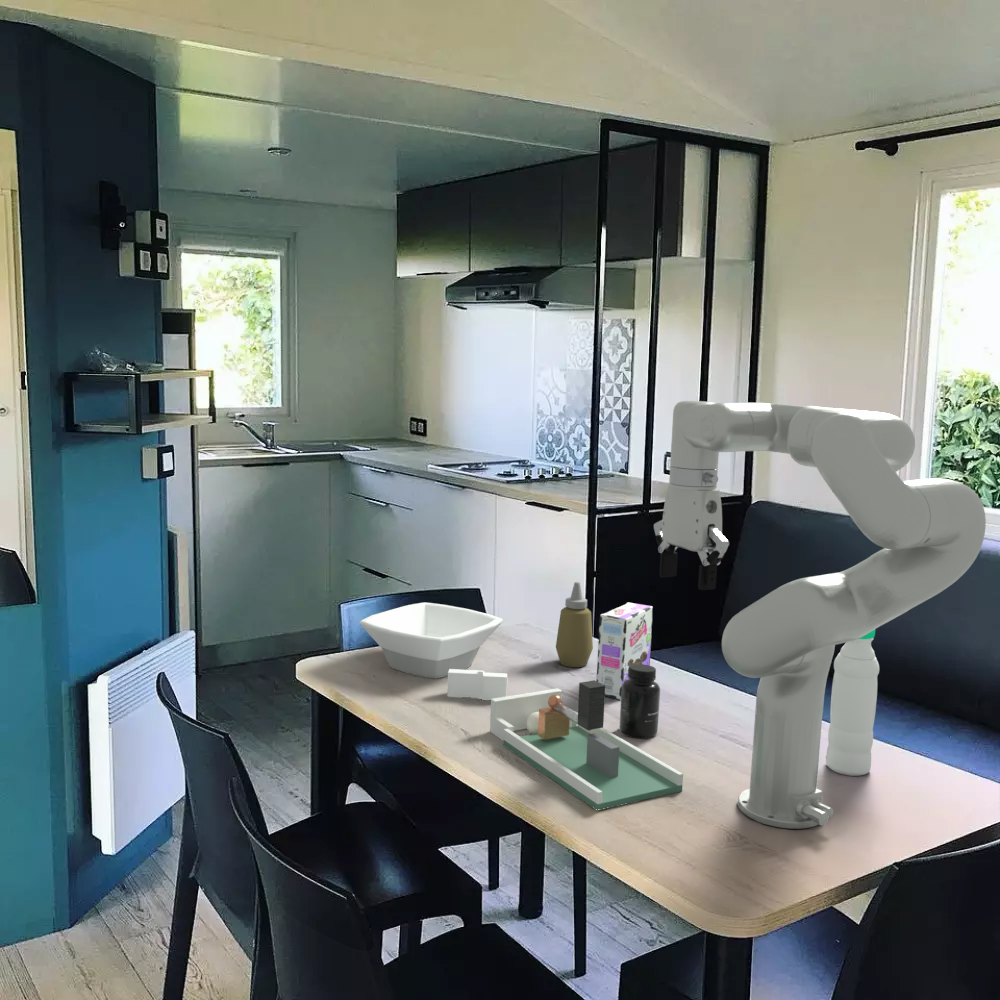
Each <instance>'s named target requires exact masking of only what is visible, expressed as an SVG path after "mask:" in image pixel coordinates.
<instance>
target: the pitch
mask: <svg viewBox="0 0 1000 1000" xmlns="http://www.w3.org/2000/svg"><path fill="white" fill-rule="evenodd" d="M552 695H558V696H559V697H560V698H561V700H562V701H563V690H561V689H560V688H557V687H556V688H550V689H545V690H539V691H538V690H537V691H533V692H526V693H520V694H514V695H513V694H512V695H507V696H506V697H500V698H493V699H491V701H490V713H489V715H490V717H489V718H490V719H489V720H490V721H489V722H490V723H489V724H490V725H489V732H490V733H492V734H493V735H494V736H496V737H497V738H499V739H500V740H501V741H503V743H502V744H503V745H502V746H504V747H505V748H507V749H508V750H509V751H511V752H513V753H514V754H515V755H517V756H518V757H520V758H521V759H522V760H524V761H525V762H527V763H529V764H530V765H531V766H533V768H535V769H536V770H538V771H540V772H541V773H542V774H544V775H545V776H547V777H548V778H550V779H551V780H552V781H554V782H555V783H557V784H559V785H560V786H561V787H562V788H564V789H566V790H567V791H569V792H570V793H571V794H572V795H574V796H575V795H576V796H575V797H577V798H578V797H579V798H578V799H580V800H581V799H582V800H581V801H583V802H584V801H585V802H586V803H585V802H584V803H585V804H587V803H588V804H589V805H588V804H587V805H588V806H590V805H591V806H592V807H591V806H590V807H591V808H593V807H594V808H595V809H597V810H598V809H602V810H604V809H603V808H607V807H611V808H613V807H612V806H615V807H618V806H617V805H620V806H622V805H621V804H624V805H626V804H625V803H628V804H632V803H631V802H633V803H636V802H635V801H637V802H641V801H644V799H645V800H649V798H650V799H654V798H658V797H662V796H663V797H664V796H666V795H671V794H675V793H680V792H682V791H683V785H684V784H683V781H684V773H683V772H681V771H679V770H678V769H676V768H674V767H672V766H670V765H668V764H667V763H665V762H663V761H662V760H660V759H658V758H656V757H654V756H652V755H651V754H649V753H648V752H646V751H644V750H642V749H640V748H639V747H637V746H636V745H634V744H632V743H630V742H628V741H626V740H625V739H623V738H621V737H620V736H617V735H616V734H615V733H612V732H611V731H609V730H607V729H606V728H604V727H603V728H598V729H592V730H590V731H589V730H586V729H585V728H583V727H581V726H580V725H578V724H577V723H575V722H573V721H571V720H570V721H569V735H567V736H561V737H556V738H551V739H545V740H544V739H542V738H541V737H539V736H538V733H536V734H532V733H531V734H527V735H526V734H525V735H521V736H519V735H518V734H517V733H515V732H516V731H520V730H525V729H527V730H528V728H527V719H528V717H529V716H530V715H531V714H532V713H534V712H539V709H541V708H547V707H550V706H549V705H548V699H549V697H550V696H552ZM514 731H515V732H514ZM657 796H658V797H657ZM640 800H641V801H640ZM594 808H593V809H594ZM595 809H594V810H595ZM607 809H608V808H607ZM597 810H596V811H597ZM598 811H599V810H598Z"/></svg>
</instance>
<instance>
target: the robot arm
mask: <svg viewBox="0 0 1000 1000" xmlns="http://www.w3.org/2000/svg"><path fill="white" fill-rule="evenodd" d="M670 443H671V444H670V445H671V447H670V461H669V462H670V465H669V479H668V480H669V481H668V482H669V483H668V485H667V489H666V493H665V498H664V506H663V511H662V512H663V513H662V519H661V520H659V521H656V522H655V523H654V524H653V530H654V533H655V534H654V535H655V541H656V543H657V546H658V548H657V550H658V553H660V557H659V558H660V559H659V574H658V575H659V577H660V578H662V579H663V578H673V577H676V576H677V573H678V560H679V559H678V557H679V555H678V554H679V553H678V552H676V551H677V549H678V548H681V549H685V550H688V551H691V552H697V554H698V556H699V557H698V558H699V559H700V561H701V564H699V567H698V582H697V588H698V590H700V591H707V590H708V591H709V590H715V589H716V588H717V576H718V575H717V573H718V566H719V565H720V564H721V561H722V560H723V559H724V557H726V552H727V550H728V547H729V546H730V541H729V540H728V539H727V538H726V536H725V535H723V507H722V499H721V493H720V489H718V488H717V486H718V482H719V476H718V470H719V469H718V468H719V456H720V455H719V453H736V452H773V453H781V454H787V455H788V454H789V455H790V457H791V459H793V461H794V462H795V463H797V464H798V465H800V466H804V467H811V468H816V469H817V470H818V472H819V474H820V476H821V477H822V478H823V481H824V482H825V483H826V484H827V487H828V488H829V489H830V490H831V491H832V493H833V494H834V496H835V497H836V498H837V499H838V501H839V502H840V504H841V505H842V507H843V508H844V509H845V511H846V513H847V514H848V515H849V517H850V518H851V520H852V521H853V523H854V524H855V525H856V527H857V528H858V529H859V531H861V533H863V535H864V537H866V538H867V539H869V541H871V542H872V544H875V545H876V546H878V547H881V548H882V549H880V550H878V551H877V552H875V553H873V554H871V555H870V556H869V557H867V558H866V559H864V560H862V561H860V562H858V563H857V564H855V565H854V566H851V567H849V568H847V569H845V570H842V571H840V572H832V573H827V574H826V573H825V574H821V575H813V576H807V577H802V578H798V579H795V580H792V581H790V582H787V583H785V584H783V585H781V586H779V587H777V588H776V589H774V590H772V591H770V592H769V593H768V594H766V595H764V596H763V597H761V598H760V599H758V600H756V601H754V602H753V603H752V604H751V603H750V605H748V606H747V607H745V608H743V609H742V610H740V611H739V612H738V613H736V614H735V615H734V616H732V617H731V619H730V620H729V621H728V623H726V626H725V628H724V630H723V633H722V638H721V651H722V654H723V657H724V659H725V661H726V663H727V664H728V666H730V668H731V669H732V670H734V671H735V672H736V673H737V674H740V675H741V676H744V677H747V678H753V679H758V678H759V679H760V680H759V683H758V687H757V692H756V699H755V711H754V722H753V723H754V725H753V738H752V750H751V751H752V753H751V769H750V782H749V783H750V784H749V788H747V789H745V790H743V791H742V792H741V793H739V795H738V799H737V805H738V808H739V810H740V811H741V812H742V814H744V815H745V816H747V817H748V818H749V819H752V820H754V821H756V822H758V823H761V824H764V825H767V826H772V827H775V828H780V829H781V828H783V829H791V830H792V829H793V830H801V829H809V828H812V827H815V826H818V825H820V826H822V827H823V826H825V825H826V824H827V823H828V821H829V819H830V818H831V817H832V816H833V814H834V809H833V808H832V807H830V805H829V806H828V805H827V804H823V802H822V795H823V791H822V790H820V789H819V788H817V785H818V770H819V761H820V749H821V747H820V746H821V738H822V737H821V736H822V735H821V734H822V723H823V722H822V721H823V714H824V713H823V712H824V704H825V703H824V702H825V693H826V685H827V679H828V676H829V672H830V668H831V664H832V660H833V657H834V653H835V647H836V645H841V644H845V643H846V642H849V641H853V640H856V639H859V638H861V637H863V636H864V635H866V634H868V633H869V632H871V631H873V630H874V629H875V630H876V629H878V628H879V627H881V626H883V625H885V624H887V623H889V622H890V621H892V620H894V619H896V618H897V617H899V616H902V615H903V614H905V613H907V612H908V611H909V610H912V609H913V608H915V607H917V606H919V605H920V604H923V603H924V602H926V601H928V600H929V599H932V598H933V597H935V596H937V595H939V594H940V593H941V592H944V590H947V588H949V587H950V586H952V585H953V584H954V583H955V582H957V581H958V580H959V579H960V578H961V577H962V576H963V575H964V574H965V573H966V572H967V571H968V570H969V569H970V568H971V566H972V565H973V564H974V562H975V560H976V559H977V557H978V555H979V554H980V551H981V549H982V546H983V542H984V539H985V536H986V527H987V525H986V523H987V522H986V521H987V519H986V513H985V512H986V511H985V508H984V504H983V502H982V500H981V498H980V497H979V495H978V494H977V493H976V492H975V491H974V490H973V489H972V488H971V487H969V486H968V485H966V484H964V483H962V482H960V481H957V480H952V479H948V478H923V479H922V478H921V479H911V480H910V479H909V480H907V479H906V480H902V478H901V477H900V476H899V475H898V474H897V472H898V471H900V470H902V469H903V468H905V466H906V465H907V464H908V463H909V462H910V461H911V459H912V457H913V455H914V452H915V448H916V439H915V435H914V432H913V430H912V428H911V426H910V425H909V424H908V423H907V421H905V420H904V419H902V418H900V417H899V416H896V415H893V414H891V413H887V412H880V411H873V410H872V411H869V410H860V409H859V410H858V409H848V408H838V407H837V408H836V407H835V408H833V407H823V406H815V405H805V406H803V405H802V406H801V405H792V404H781V403H780V404H779V403H770V402H769V403H768V402H712V401H704V400H703V401H702V400H683V401H679V402H678V403H675V405H674V408H673V413H672V428H671V442H670ZM707 553H709V555H708V554H707Z"/></svg>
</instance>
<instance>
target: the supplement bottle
mask: <svg viewBox="0 0 1000 1000" xmlns="http://www.w3.org/2000/svg"><path fill="white" fill-rule="evenodd" d="M656 674H657V669H656V667H654V666H652V665H651V664H650V665H644V664H634V665H630V666H629V671H628V678H629V679H628V680H626V681H625V682H624V683H623V685H622V693H621V700H620V711H619V712H620V713H619V732H621V734H623V735H625V736H626V737H628V738H632V739H633V738H634V739H642V740H643V739H650V738H654V737H655V736H656V735H657V734H658V730H659V729H658V728H659V717H660V715H659V714H660V700H661V688H660V685H659V684H658V683H657V682H656V681H655V680H656V679H657V676H656Z"/></svg>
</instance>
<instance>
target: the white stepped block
mask: <svg viewBox="0 0 1000 1000" xmlns="http://www.w3.org/2000/svg"><path fill="white" fill-rule="evenodd" d="M507 694H508V673H506V672H505V673H504V672H501V673H500V672H485V670H483V669H482V670H478V669H475V670H474V669H464V670H461V669H449V671H448V676H447V697H448V698H462V697H471V698H470V699H478V700H479V699H482V700H481V701H483V700H491V699H493V698H500V697H506V696H508V695H507Z"/></svg>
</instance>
